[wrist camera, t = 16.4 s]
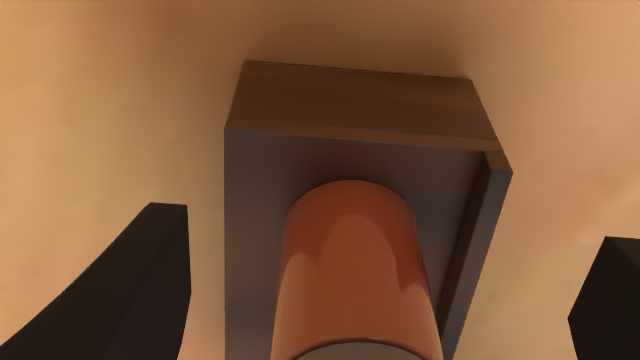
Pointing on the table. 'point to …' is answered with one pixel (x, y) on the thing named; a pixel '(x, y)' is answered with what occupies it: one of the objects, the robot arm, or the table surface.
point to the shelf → (356, 178)
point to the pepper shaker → (353, 279)
